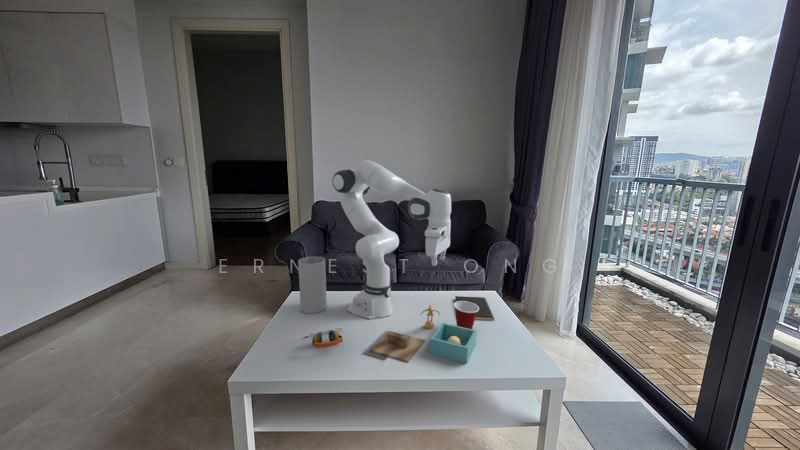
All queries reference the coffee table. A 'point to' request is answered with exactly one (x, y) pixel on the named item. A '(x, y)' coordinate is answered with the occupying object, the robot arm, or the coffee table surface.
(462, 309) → the plastic cup
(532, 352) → the coffee table surface
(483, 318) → the hardcover book
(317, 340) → the headphones
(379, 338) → the mat
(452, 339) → the ball
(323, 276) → the cylinder vase
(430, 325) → the figurine
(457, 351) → the open box
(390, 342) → the lid
